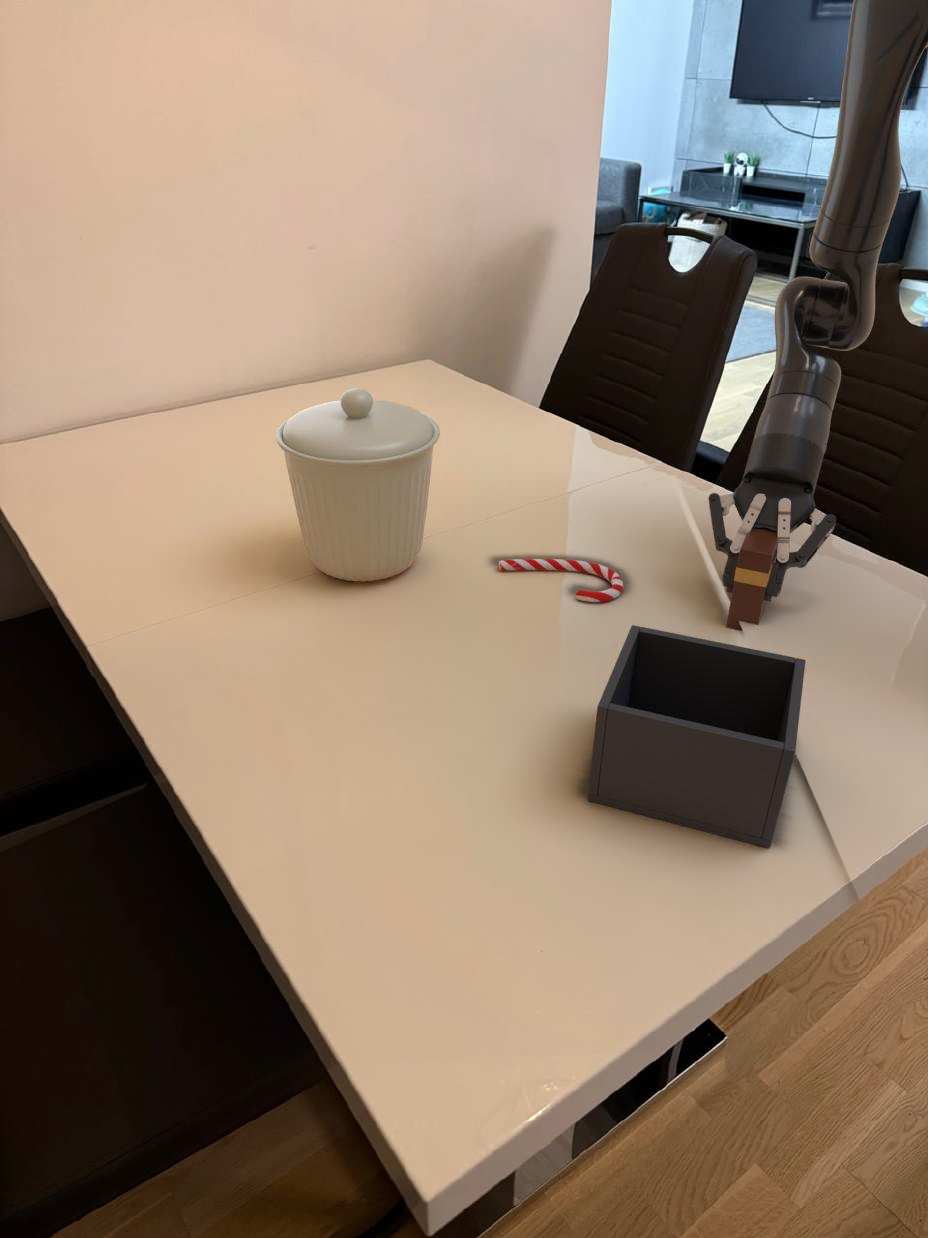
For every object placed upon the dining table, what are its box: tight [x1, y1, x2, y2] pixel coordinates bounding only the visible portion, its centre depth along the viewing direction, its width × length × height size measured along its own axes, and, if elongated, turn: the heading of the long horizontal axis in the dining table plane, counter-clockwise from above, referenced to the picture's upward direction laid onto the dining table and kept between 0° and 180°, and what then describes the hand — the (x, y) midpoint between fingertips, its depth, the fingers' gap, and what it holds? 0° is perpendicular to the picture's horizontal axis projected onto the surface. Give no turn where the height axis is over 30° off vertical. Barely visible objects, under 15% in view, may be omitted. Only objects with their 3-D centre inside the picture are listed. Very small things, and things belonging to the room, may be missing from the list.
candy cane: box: [497, 558, 624, 603], centre depth 106 cm, size 8×1×15 cm
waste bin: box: [586, 624, 806, 849], centre depth 76 cm, size 15×13×10 cm
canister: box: [275, 387, 441, 582], centre depth 105 cm, size 18×18×21 cm
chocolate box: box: [725, 528, 779, 632], centre depth 98 cm, size 3×6×10 cm, turn 155°
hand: (749, 594), depth 97 cm, fingers closed on chocolate box, 3 cm apart
